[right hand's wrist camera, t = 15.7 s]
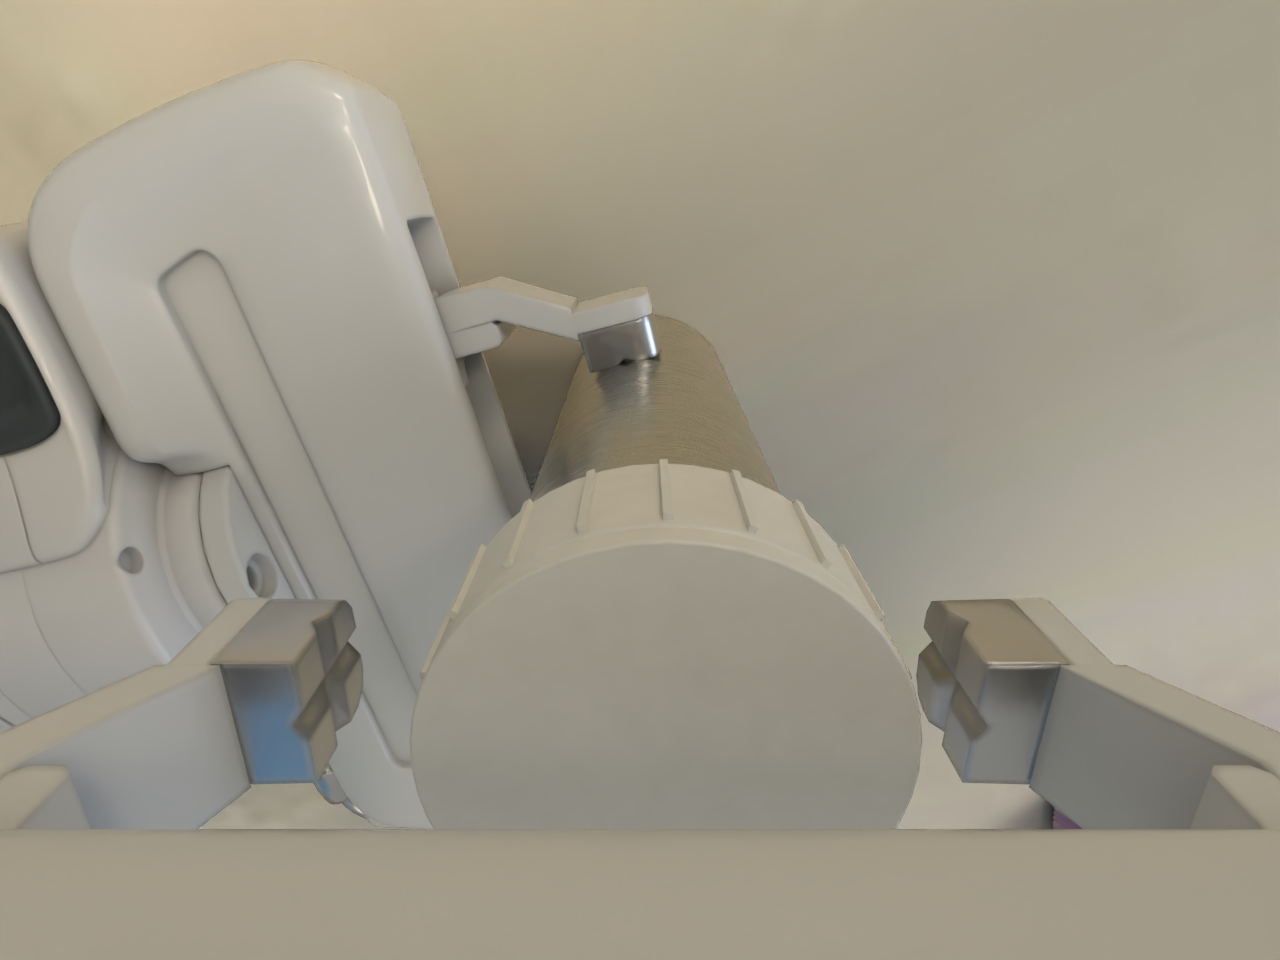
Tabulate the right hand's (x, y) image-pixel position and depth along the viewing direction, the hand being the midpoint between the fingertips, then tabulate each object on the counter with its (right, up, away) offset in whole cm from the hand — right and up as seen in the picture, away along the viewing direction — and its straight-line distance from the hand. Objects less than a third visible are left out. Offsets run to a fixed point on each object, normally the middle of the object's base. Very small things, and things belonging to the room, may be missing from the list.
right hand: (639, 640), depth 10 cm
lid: (0, -1, -2) cm, 2 cm away
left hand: (+1, +3, +8) cm, 9 cm away
